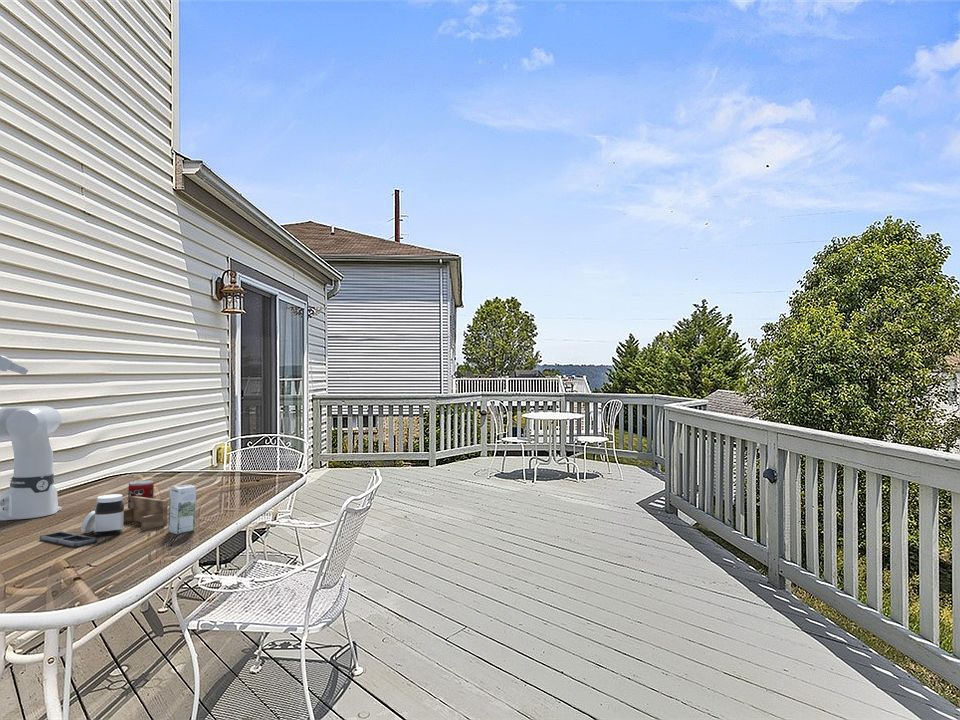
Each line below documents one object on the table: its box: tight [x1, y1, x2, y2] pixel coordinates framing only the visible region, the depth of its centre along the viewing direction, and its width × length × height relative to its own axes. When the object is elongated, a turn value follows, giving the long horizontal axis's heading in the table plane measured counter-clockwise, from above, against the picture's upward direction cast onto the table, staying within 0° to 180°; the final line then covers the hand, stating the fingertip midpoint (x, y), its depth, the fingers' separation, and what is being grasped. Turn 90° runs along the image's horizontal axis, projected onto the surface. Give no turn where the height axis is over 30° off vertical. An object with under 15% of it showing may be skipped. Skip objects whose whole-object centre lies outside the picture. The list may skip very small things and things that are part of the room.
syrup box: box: [167, 484, 197, 535], centre depth 180 cm, size 6×6×14 cm
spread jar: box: [80, 493, 125, 537], centre depth 177 cm, size 12×11×12 cm
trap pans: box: [39, 530, 98, 548], centre depth 168 cm, size 18×6×1 cm, turn 65°
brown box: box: [123, 496, 169, 531], centre depth 188 cm, size 17×8×8 cm, turn 65°
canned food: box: [127, 479, 155, 509], centre depth 206 cm, size 8×8×11 cm
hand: (26, 371), depth 173 cm, fingers open, 8 cm apart
